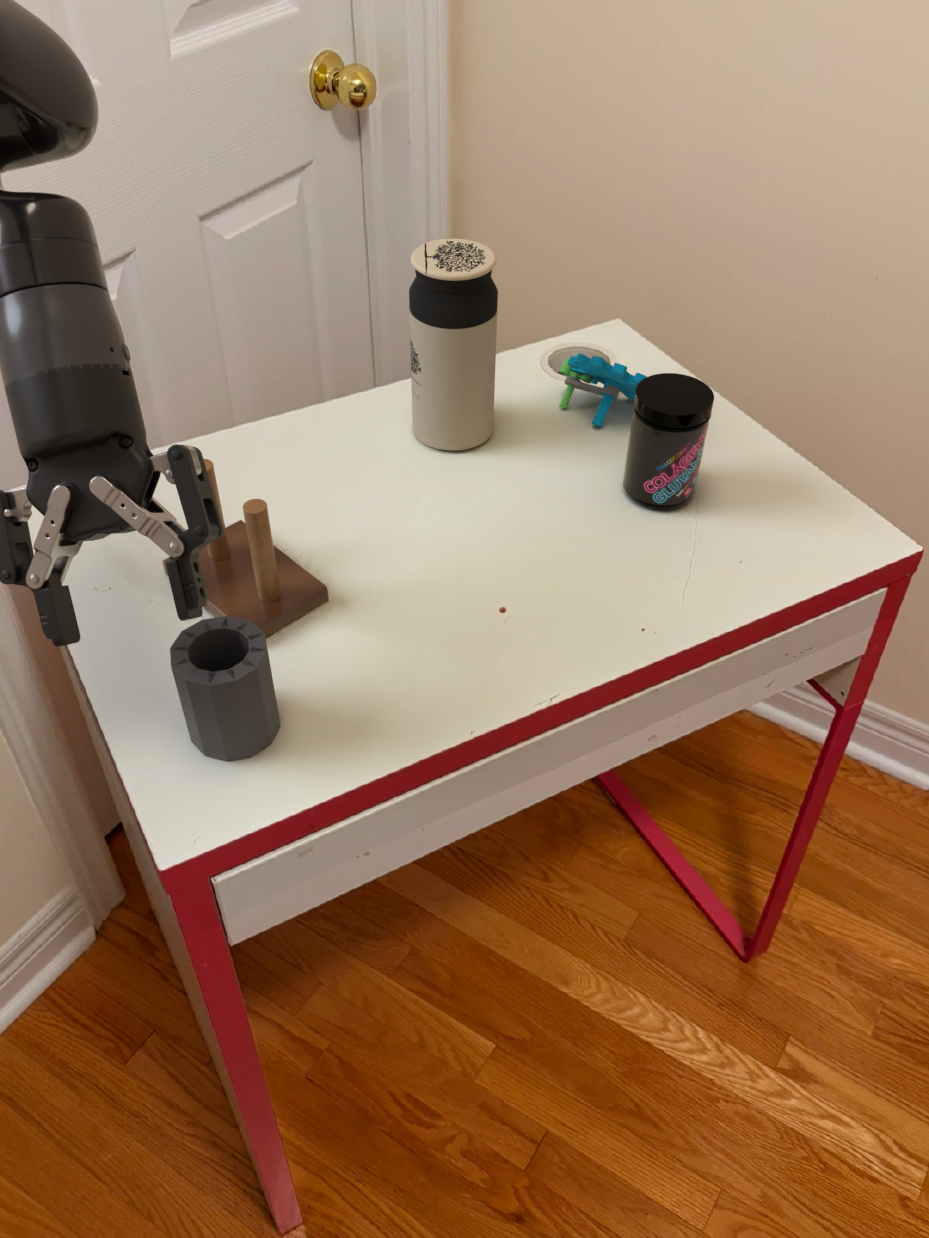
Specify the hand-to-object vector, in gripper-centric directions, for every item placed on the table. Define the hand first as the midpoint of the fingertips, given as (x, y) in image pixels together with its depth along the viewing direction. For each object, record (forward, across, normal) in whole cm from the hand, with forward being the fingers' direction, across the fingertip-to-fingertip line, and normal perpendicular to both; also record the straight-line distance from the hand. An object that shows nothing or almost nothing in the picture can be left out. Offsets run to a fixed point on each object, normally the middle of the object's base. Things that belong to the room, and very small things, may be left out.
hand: (129, 631), depth 66 cm
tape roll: (+8, +1, +11) cm, 14 cm away
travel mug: (-12, +16, +43) cm, 47 cm away
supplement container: (-2, +34, +39) cm, 52 cm away
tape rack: (-1, 0, +22) cm, 22 cm away
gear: (-11, +31, +49) cm, 59 cm away
